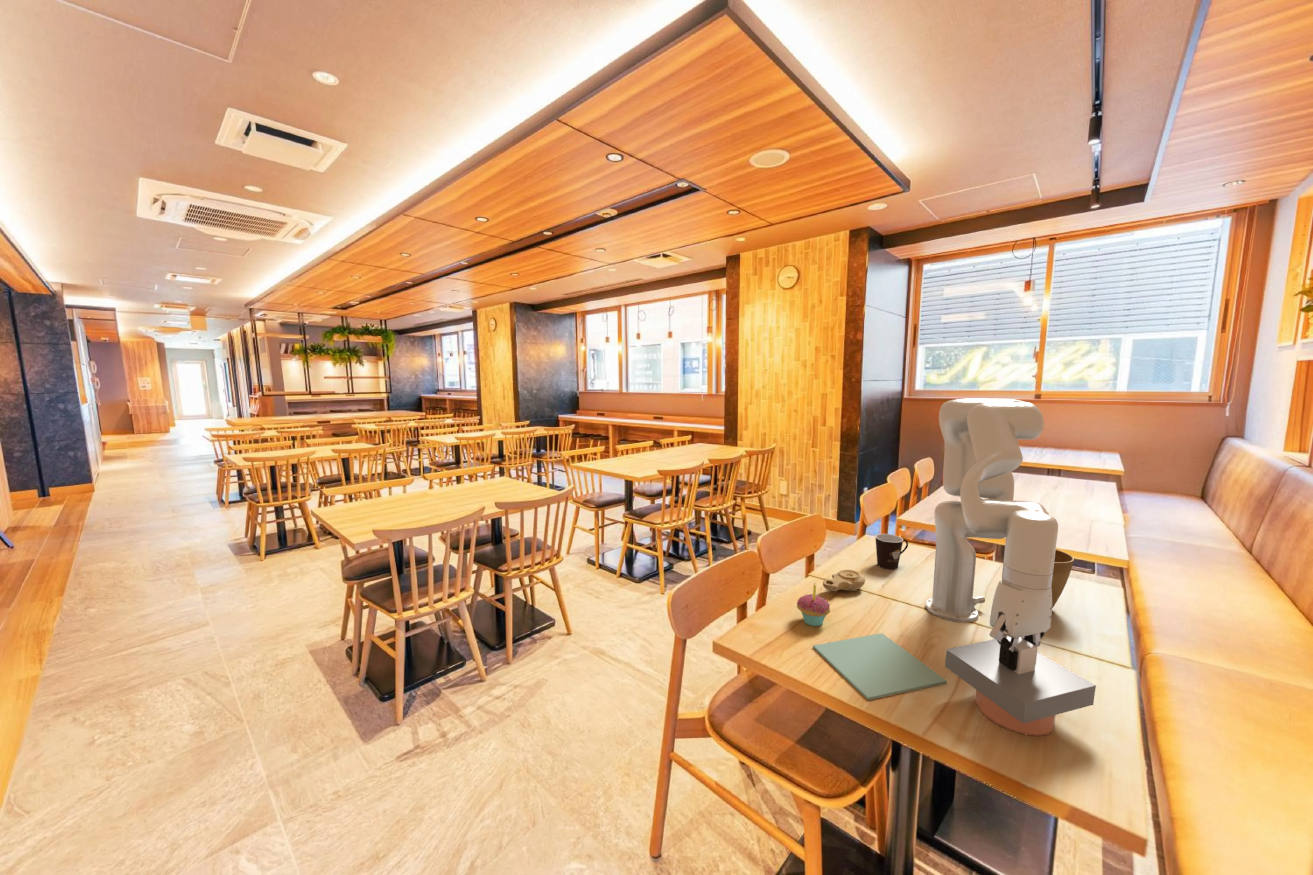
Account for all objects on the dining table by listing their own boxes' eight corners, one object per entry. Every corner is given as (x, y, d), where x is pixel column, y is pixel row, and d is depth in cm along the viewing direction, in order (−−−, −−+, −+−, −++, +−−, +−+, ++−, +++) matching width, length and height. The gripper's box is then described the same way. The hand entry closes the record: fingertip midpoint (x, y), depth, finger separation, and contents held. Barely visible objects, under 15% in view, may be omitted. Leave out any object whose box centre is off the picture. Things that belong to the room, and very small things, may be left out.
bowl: (1008, 687, 104) (1010, 661, 103) (1070, 728, 92) (1073, 699, 91) (961, 698, 101) (963, 671, 100) (1019, 741, 89) (1022, 711, 88)
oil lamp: (820, 594, 148) (820, 579, 147) (832, 577, 160) (833, 563, 159) (857, 603, 142) (858, 587, 141) (867, 585, 154) (868, 570, 153)
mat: (881, 635, 125) (882, 633, 125) (946, 683, 106) (947, 680, 106) (812, 647, 120) (813, 645, 120) (868, 700, 101) (868, 697, 101)
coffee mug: (877, 570, 165) (879, 541, 163) (870, 560, 173) (872, 533, 172) (914, 572, 163) (916, 543, 162) (906, 562, 171) (907, 534, 170)
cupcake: (831, 631, 127) (833, 587, 125) (797, 628, 129) (799, 585, 127) (827, 615, 135) (828, 573, 134) (795, 612, 137) (796, 571, 136)
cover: (1007, 652, 107) (1011, 614, 105) (1093, 704, 91) (1099, 660, 89) (944, 666, 102) (948, 626, 101) (1023, 723, 86) (1028, 677, 85)
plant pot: (1079, 611, 136) (1085, 556, 134) (1049, 624, 129) (1055, 566, 127) (1020, 590, 149) (1024, 539, 147) (990, 600, 143) (995, 548, 140)
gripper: (1040, 562, 99) (1030, 646, 101) (973, 573, 94) (965, 660, 97) (1080, 578, 91) (1069, 667, 94) (1011, 591, 87) (1001, 684, 90)
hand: (1016, 663), depth 96 cm, fingers closed on cover, 4 cm apart
